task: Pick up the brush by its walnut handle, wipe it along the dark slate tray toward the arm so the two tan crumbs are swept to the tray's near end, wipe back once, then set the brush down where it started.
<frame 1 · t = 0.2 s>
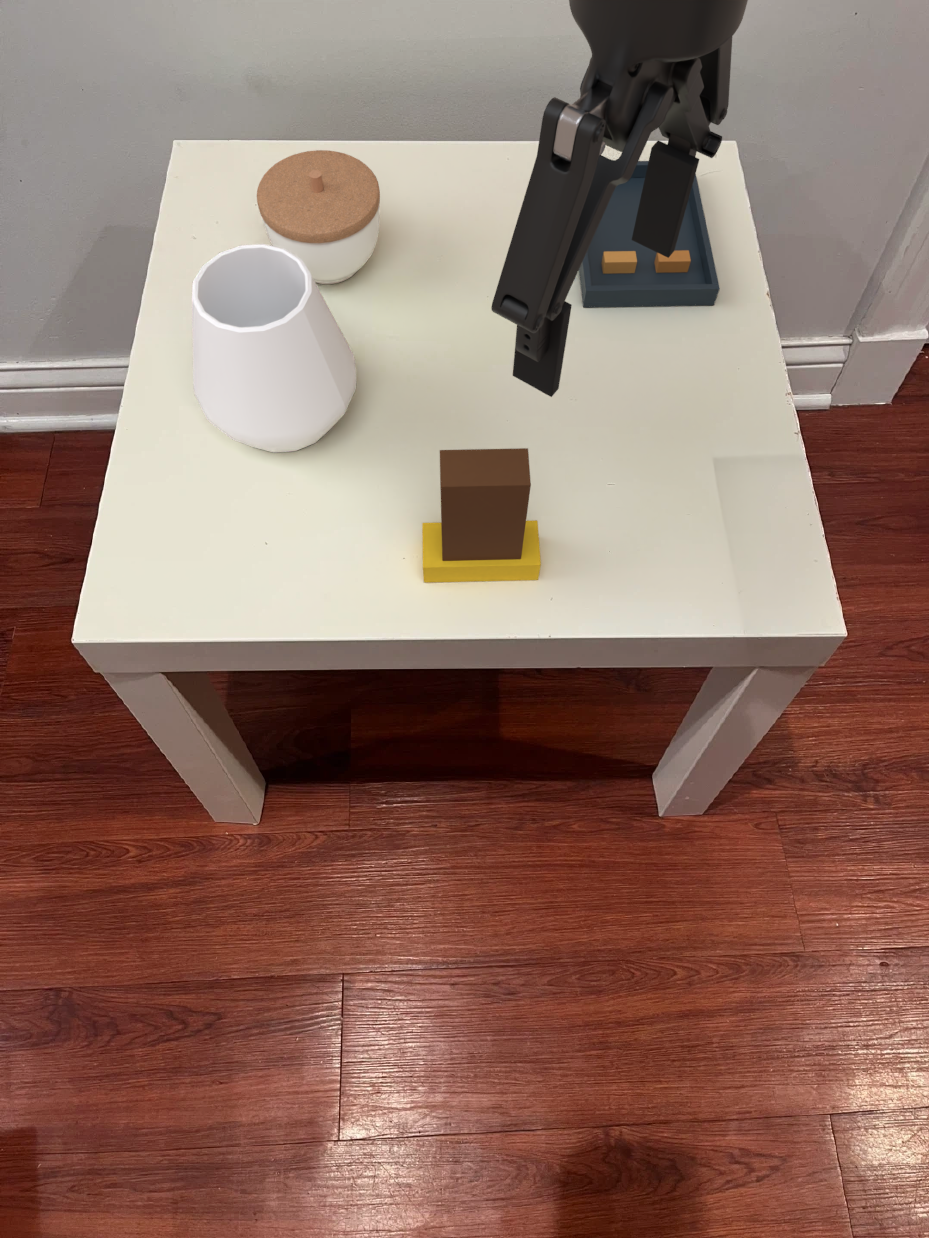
hand: (596, 311, 55), 21 cm above the table, tool pointing down, fingers open, 13 cm apart
crumb b: (670, 267, 85), point 1 cm above the table, touching tray
tray: (637, 240, 87), on the table
brush: (480, 559, 71), on the table
white vase: (284, 410, 78), on the table
crumb a: (617, 268, 85), point 1 cm above the table, touching tray
trinket box: (329, 262, 86), on the table
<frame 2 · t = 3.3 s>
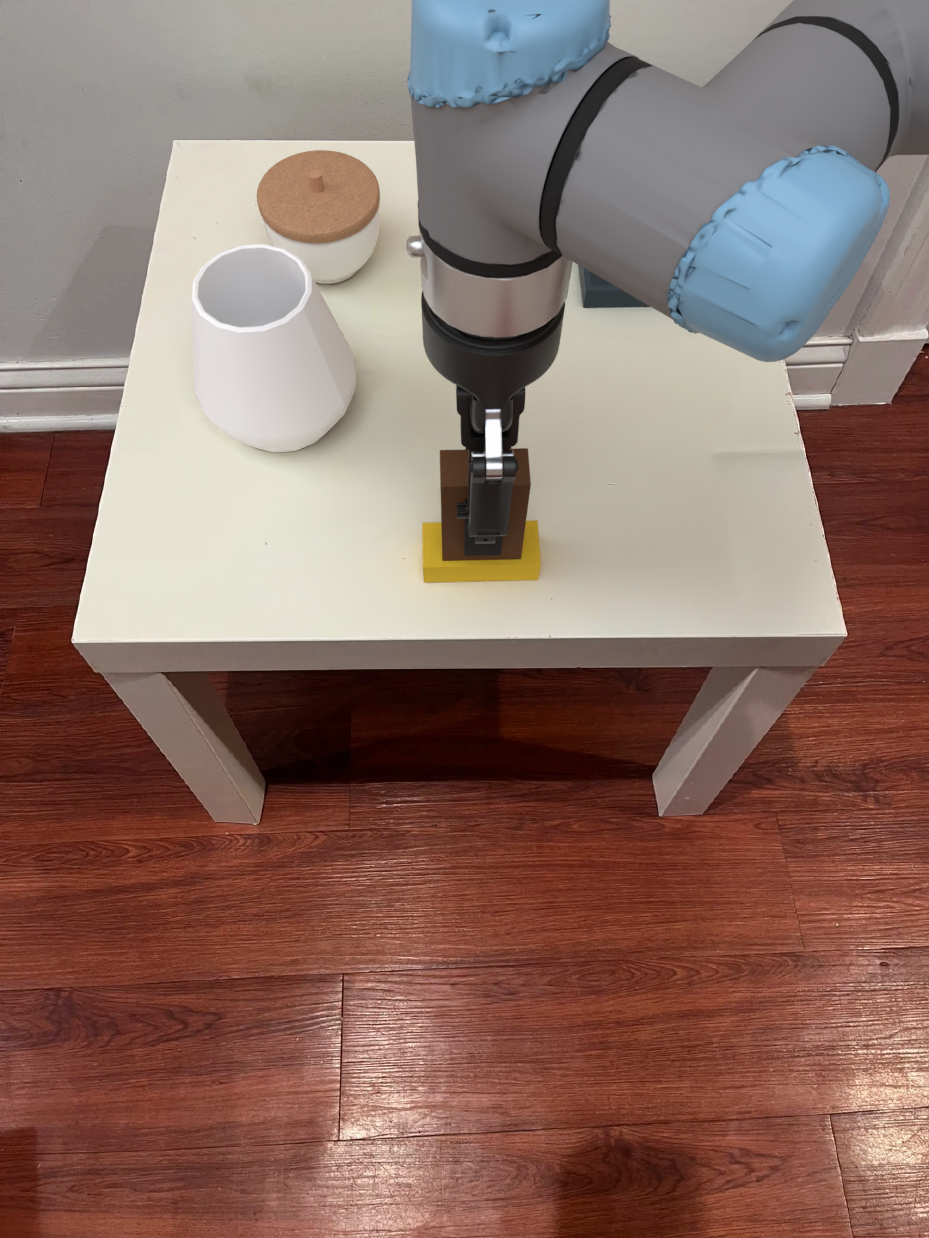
hand: (481, 529, 67), 5 cm above the table, tool pointing down, fingers closed on brush, 3 cm apart
brush: (480, 559, 71), on the table, touching gripper
everything else where it was.
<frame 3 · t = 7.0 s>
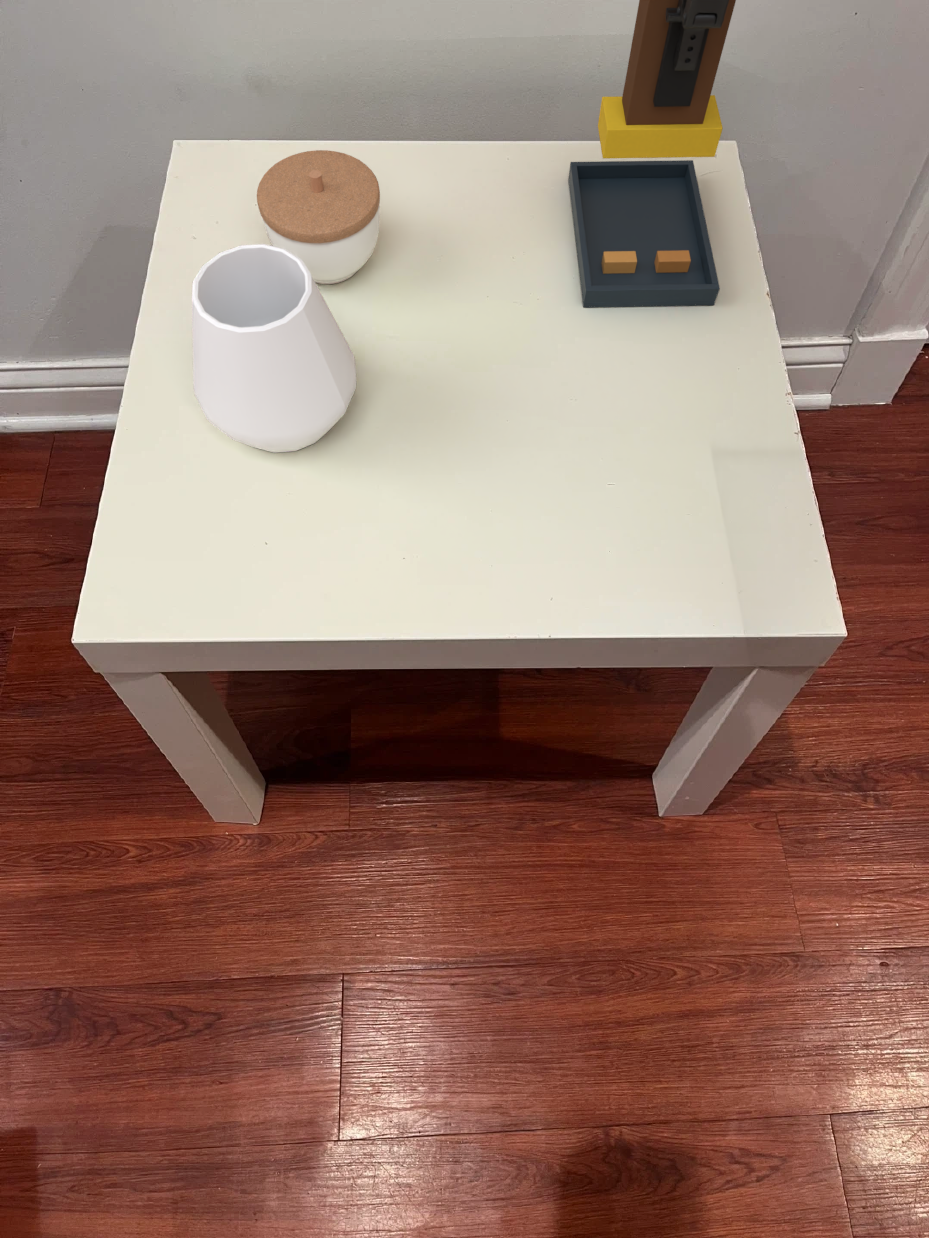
hand: (668, 87, 68), 18 cm above the table, tool pointing down, fingers closed on brush, 3 cm apart
brush: (655, 141, 73), point 14 cm above the table, touching gripper
everything else where it was.
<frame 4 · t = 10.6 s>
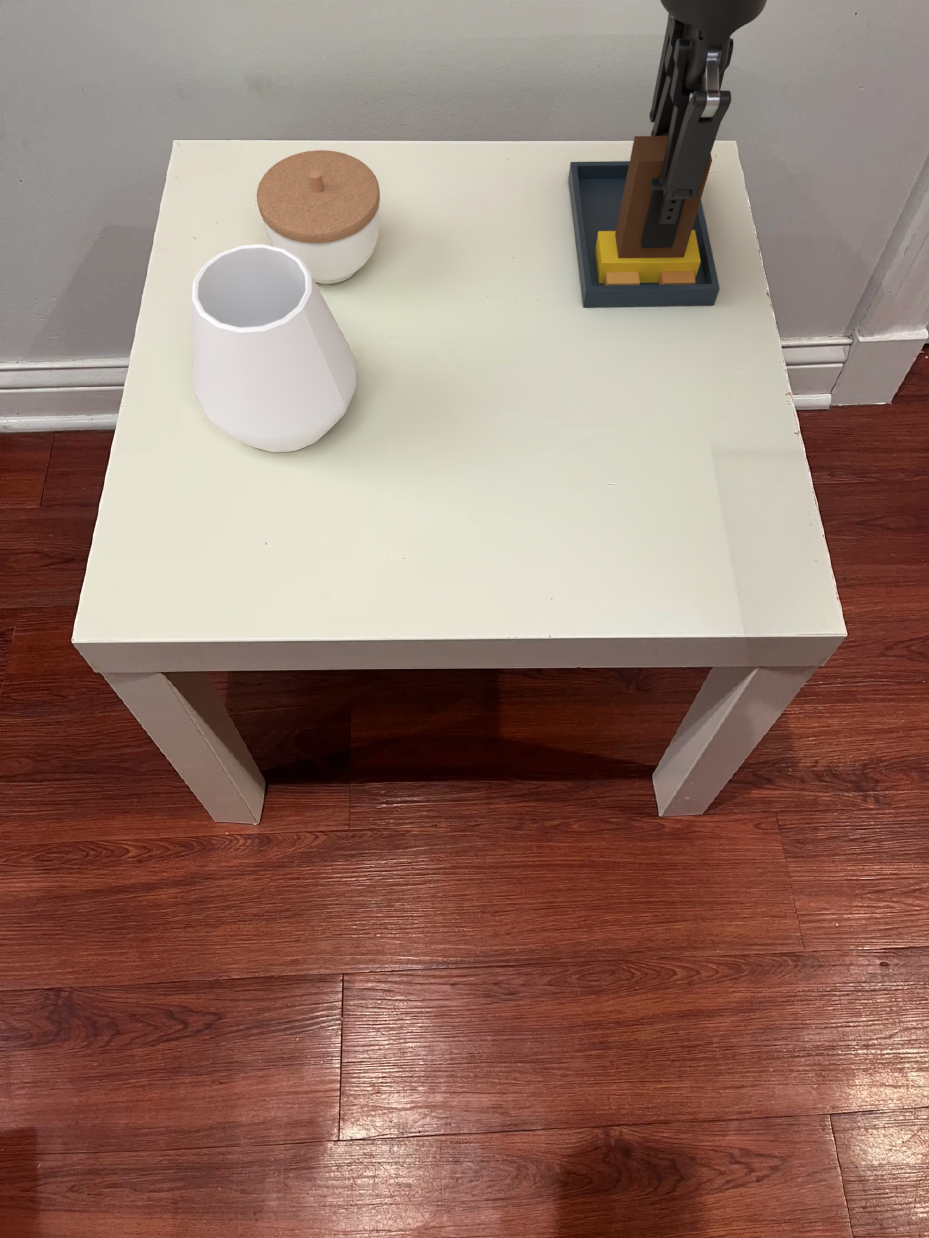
hand: (654, 229, 81), 5 cm above the table, tool pointing down, fingers closed on brush, 3 cm apart
crumb b: (675, 288, 83), point 1 cm above the table, touching brush, tray
brush: (644, 267, 85), point 1 cm above the table, touching crumb a, crumb b, gripper, tray
crumb a: (620, 289, 83), point 1 cm above the table, touching brush, tray
everything else where it was.
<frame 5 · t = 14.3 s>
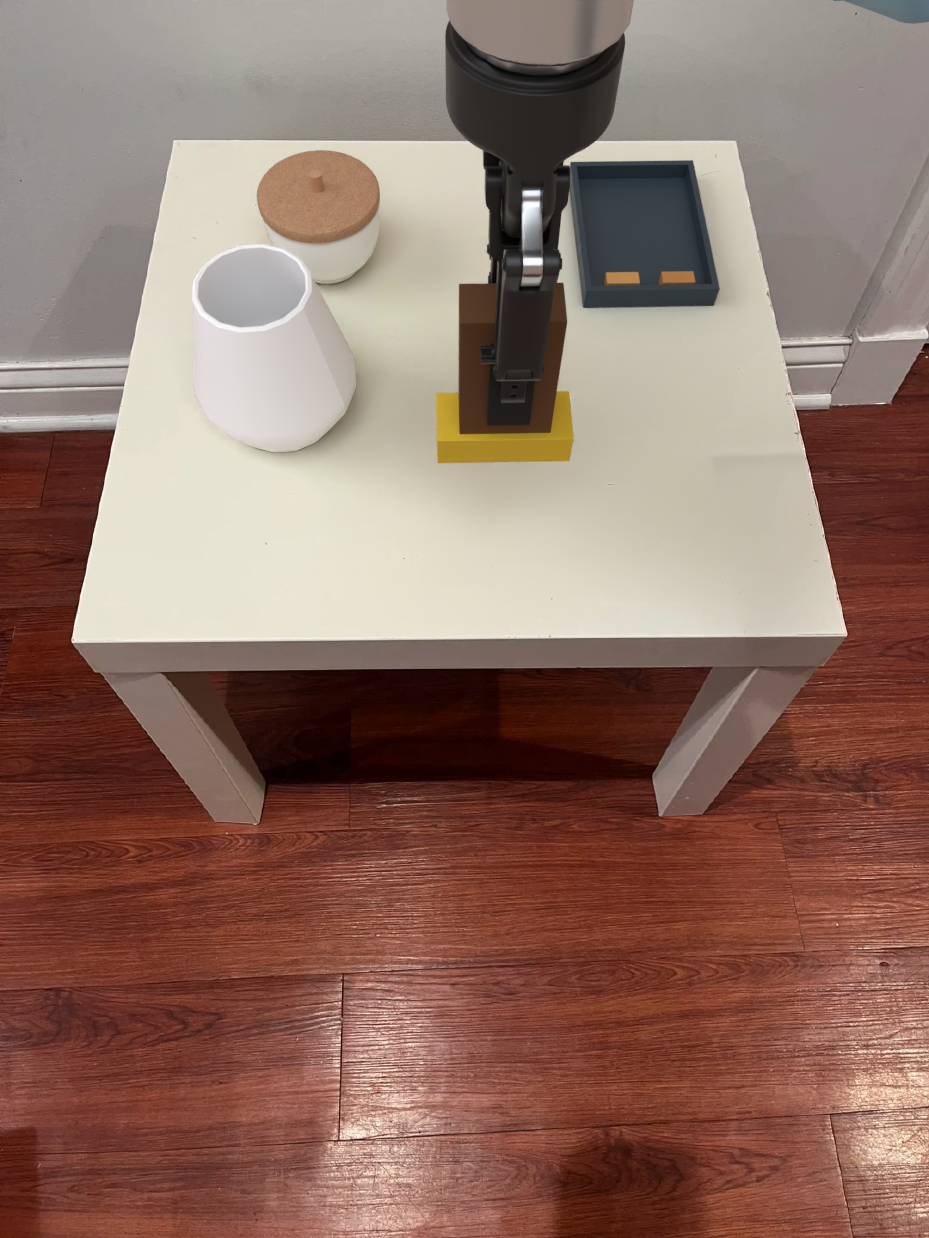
hand: (506, 396, 58), 16 cm above the table, tool pointing down, fingers closed on brush, 3 cm apart
crumb b: (675, 288, 83), point 1 cm above the table, touching tray
brush: (502, 438, 62), point 12 cm above the table, touching gripper
crumb a: (620, 289, 83), point 1 cm above the table, touching tray
everything else where it was.
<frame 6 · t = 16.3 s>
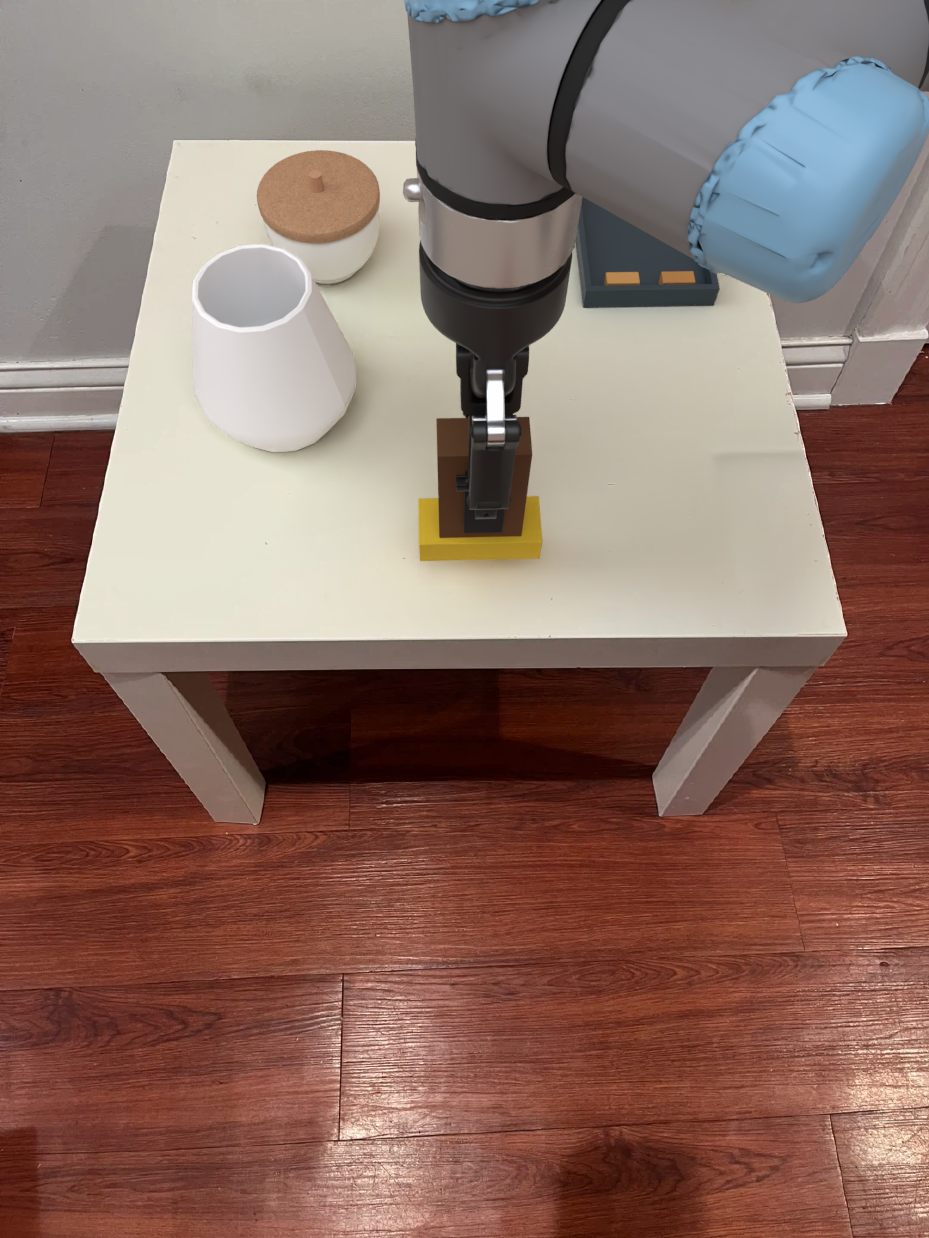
hand: (481, 505, 64), 8 cm above the table, tool pointing down, fingers closed on brush, 3 cm apart
brush: (478, 537, 68), point 3 cm above the table, touching gripper
everything else where it was.
when the fingers open (4 cm above the table, at t = 17.3 s): brush stays where it is, on the table.
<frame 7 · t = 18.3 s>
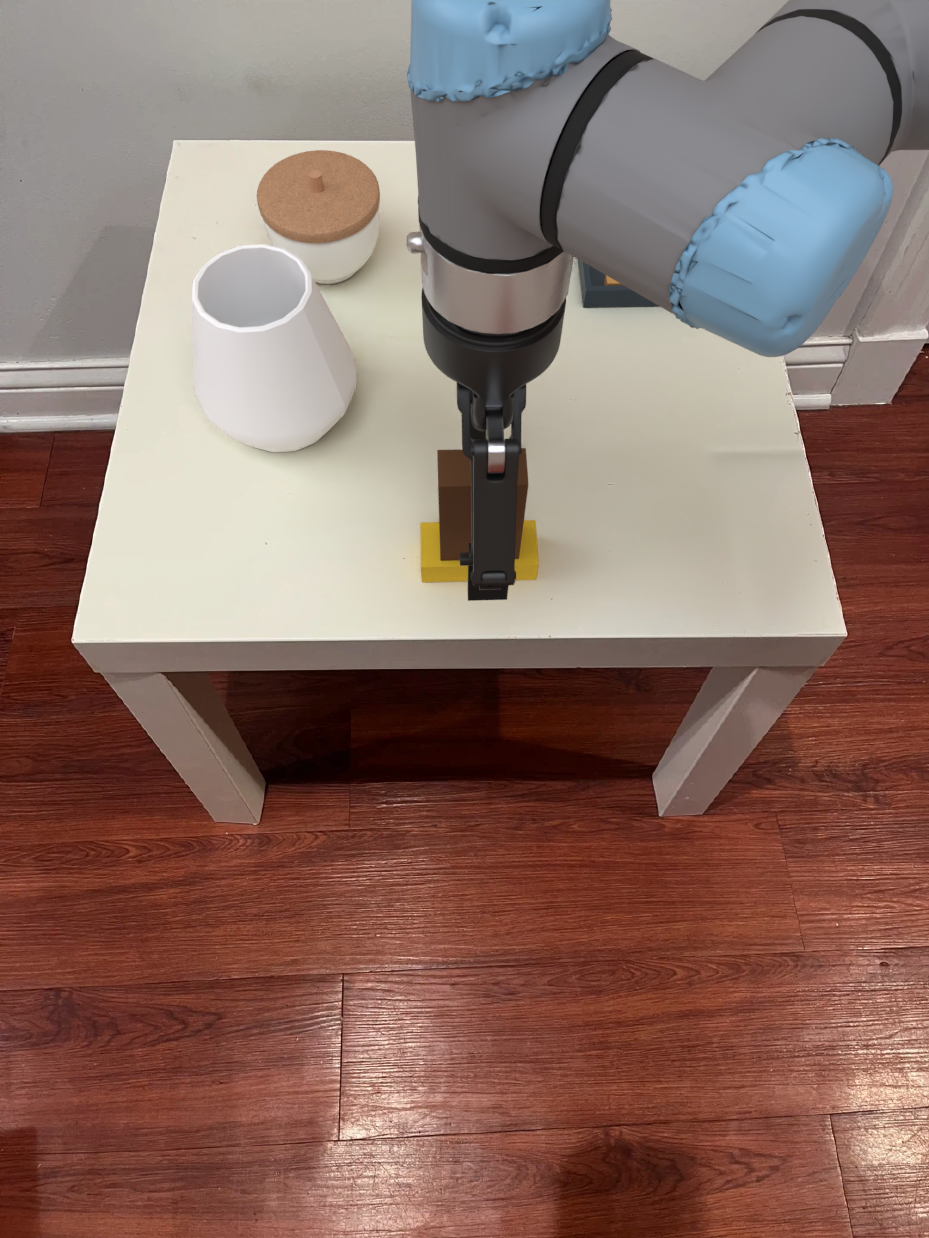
hand: (483, 512, 65), 7 cm above the table, tool pointing down, fingers open, 13 cm apart
brush: (478, 559, 71), on the table
everything else where it was.
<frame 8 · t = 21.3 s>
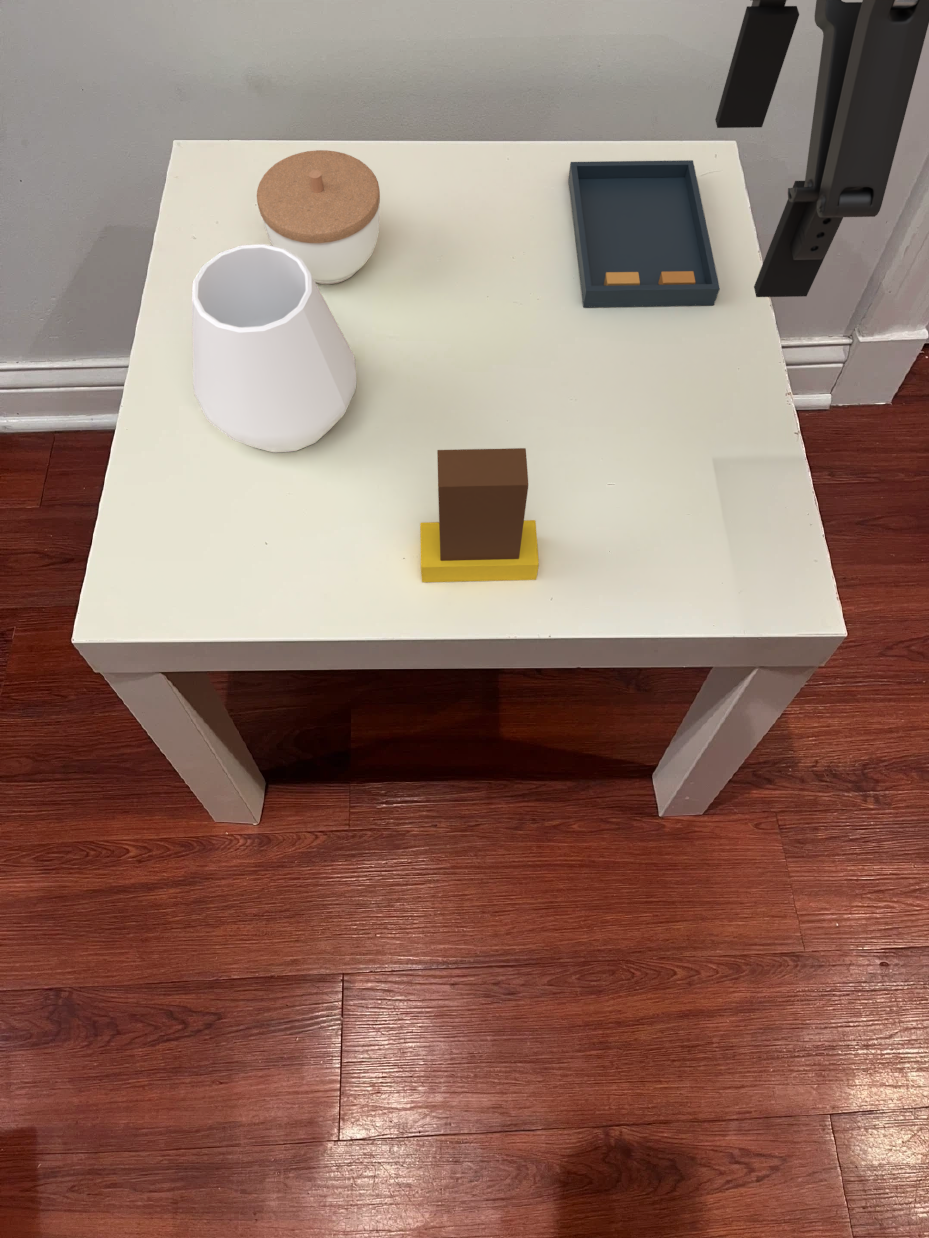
hand: (757, 203, 51), 27 cm above the table, tool pointing down, fingers open, 13 cm apart
nothing on the table moved.
at the end: crumb a 0.4 cm from the target spot in the tray, point 0.6 cm above the tray's base; crumb b 0.4 cm from the target spot in the tray, point 0.6 cm above the tray's base; brush inside the target area (0.1 cm from its centre), on the table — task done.
